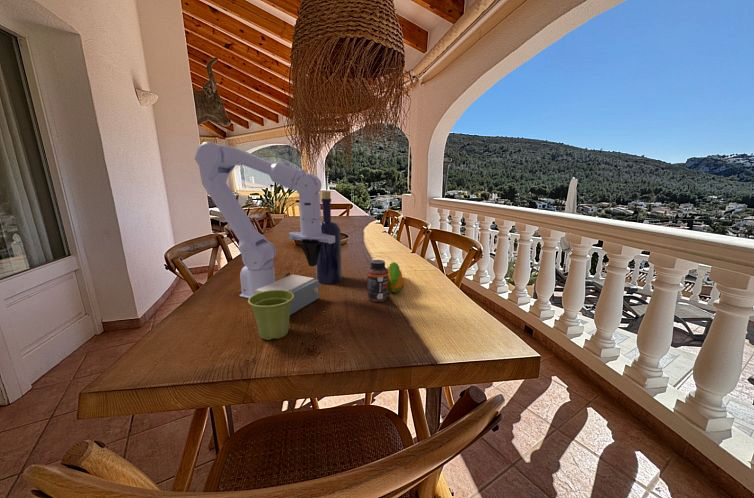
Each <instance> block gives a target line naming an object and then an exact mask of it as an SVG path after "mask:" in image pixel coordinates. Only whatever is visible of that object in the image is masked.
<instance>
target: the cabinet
mask: <svg viewBox="0 0 754 498" xmlns="http://www.w3.org/2000/svg"><path fill="white" fill-rule="evenodd" d="M313 280H315V278H314V277H311V276H310V277H309V276H302V275H297V274H290V275H287V276H285V277H283V278H280V279H278V280H275V282H273V283H271V284H268V285H266V286H264V287H261V288H259V289H257V290H256V294H257V293H260V292H263V291H269V290H286V291H289V292H291V291H293V290H295V289H297V288H299V287H301V286H303V285H305V284H307V283H309V282H311V281H313Z"/></svg>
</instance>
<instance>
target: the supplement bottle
mask: <svg viewBox="0 0 754 498" xmlns="http://www.w3.org/2000/svg"><path fill="white" fill-rule="evenodd" d="M387 268H388V267H386V261H385V260H382V259H373V260H372V259H371V261H370V267H369V268H368V269H367V276H366V277H367V280H366V281H367V282H366V283H367V284H366V285H367V287H366V289H367V291H366V293H367V294H366V295H367V300H369V301H370V302H374V303H383V302H386V301H387V300H388V297H389V296H388V295H389V293H388V270H387Z"/></svg>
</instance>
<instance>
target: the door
mask: <svg viewBox="0 0 754 498" xmlns="http://www.w3.org/2000/svg"><path fill="white" fill-rule="evenodd" d="M316 279H317V278H316ZM316 279H315V278H314V280H313V281H311V282H309V283H307V284H305V285H303V286H301V287H299V288H297V289H295V290H293V291H291V292H292V293H293V294H294V298H293V300H292V304H291V307H290V316H291V315H293V314H295V313H296V312H298V311H300V310H301V309H303V308H305V307H306V306H308V305H310V304H312V303H313V302H314V301H315V302H316V301H317V300H318V299H320V283H319V280H316Z"/></svg>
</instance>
